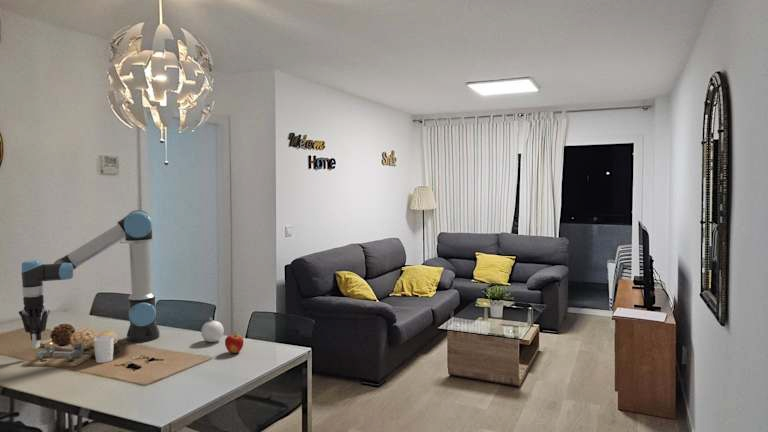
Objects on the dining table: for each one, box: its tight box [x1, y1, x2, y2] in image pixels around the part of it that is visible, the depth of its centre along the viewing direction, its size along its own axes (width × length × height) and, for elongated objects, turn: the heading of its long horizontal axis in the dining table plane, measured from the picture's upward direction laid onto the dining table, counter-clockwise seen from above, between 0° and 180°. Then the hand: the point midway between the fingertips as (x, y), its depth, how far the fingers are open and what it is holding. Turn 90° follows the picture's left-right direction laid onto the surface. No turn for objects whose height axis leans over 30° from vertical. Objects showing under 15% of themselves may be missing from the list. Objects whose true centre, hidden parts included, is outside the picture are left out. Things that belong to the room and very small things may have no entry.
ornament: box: [201, 317, 225, 343], centre depth 265 cm, size 10×10×12 cm
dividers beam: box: [35, 342, 85, 361], centre depth 238 cm, size 20×8×6 cm, turn 87°
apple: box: [224, 331, 244, 354], centre depth 248 cm, size 8×8×10 cm
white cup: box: [93, 335, 115, 364], centre depth 238 cm, size 8×8×10 cm
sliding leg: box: [38, 341, 56, 360], centre depth 238 cm, size 3×8×6 cm, turn 177°
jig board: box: [22, 354, 91, 367], centre depth 237 cm, size 23×12×1 cm, turn 87°
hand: (36, 347), depth 241 cm, fingers closed
